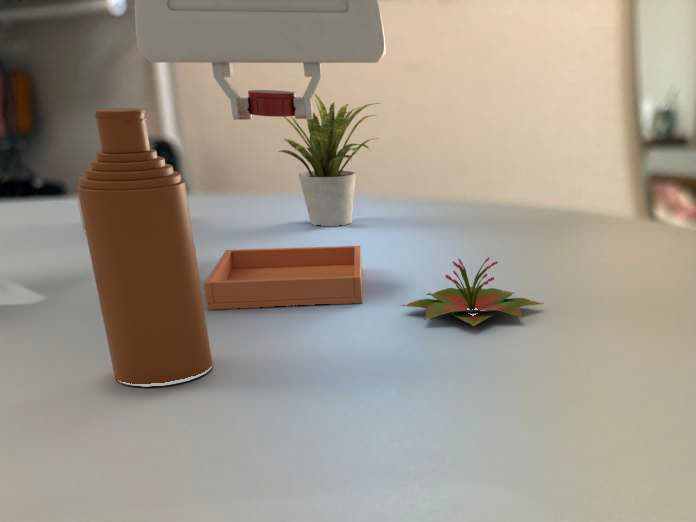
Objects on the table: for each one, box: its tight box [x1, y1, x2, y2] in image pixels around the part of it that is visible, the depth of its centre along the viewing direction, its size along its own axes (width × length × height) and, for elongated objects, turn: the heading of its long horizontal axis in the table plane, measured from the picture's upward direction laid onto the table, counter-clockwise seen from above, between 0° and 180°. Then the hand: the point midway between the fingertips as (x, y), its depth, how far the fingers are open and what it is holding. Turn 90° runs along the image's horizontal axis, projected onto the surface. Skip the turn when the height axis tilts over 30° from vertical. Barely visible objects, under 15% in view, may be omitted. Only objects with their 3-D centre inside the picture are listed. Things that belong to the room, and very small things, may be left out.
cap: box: [247, 89, 297, 118], centre depth 75 cm, size 4×4×2 cm
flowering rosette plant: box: [399, 256, 544, 327], centre depth 73 cm, size 12×12×5 cm
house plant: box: [276, 92, 380, 227], centre depth 108 cm, size 14×14×16 cm
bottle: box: [76, 107, 213, 384], centre depth 57 cm, size 6×6×18 cm
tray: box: [203, 245, 363, 311], centre depth 81 cm, size 13×13×2 cm
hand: (274, 119), depth 75 cm, fingers closed on cap, 4 cm apart
